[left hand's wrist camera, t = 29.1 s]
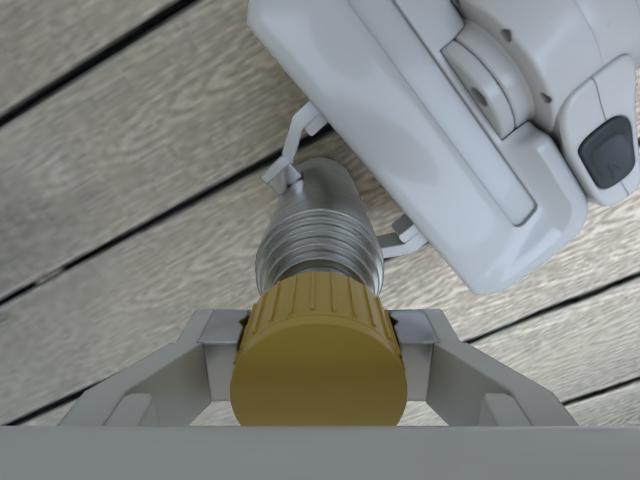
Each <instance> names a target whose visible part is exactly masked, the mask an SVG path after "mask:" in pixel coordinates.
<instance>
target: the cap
mask: <svg viewBox="0 0 640 480" xmlns="http://www.w3.org/2000/svg"><path fill="white" fill-rule="evenodd" d="M399 355H401V352H400V349H399V346H398V343H397V339H396V336H395V333H394V330H393V327H392V324H391V320H390V317H389V314H388V311H387V309H386V310H385V309H384V308H383V306H382V304H381V302H380V298H379V297H378V296H377V297H376V296H375V295H374V294H373V293H372V292H371V291H370V290H369V289H368V288H367V286H366V285H363V284H361V283H359V282H357V281H356V280H354V279H352V278H351V277H347V276H344V275H340V274H336V273H334V272H315V271H312V272H306V273H302V274H295V275H294V276H291V277H288V278H286V279H284V280H282V281H278V282H277V284H275V285H274V286H272V287H271V288H270V289H269V290H268V291H267V292H266V291H265V292H263V295H262V297H261V298H260V299H259V301H258V302H257V304H254V305H253V308H252V311H251V314H250V317H249V320H248V323H247V325H246V326H245V328H244V336H243V339H242V342H241V345H240V349H239V352H238V351H237V352H236V356H235V359H234V362H233V364H234V365H235V367H234V370H233V374H232V377H231V381H230V400H231V404H232V408H233V411H234V414H235V416H236V418H237V420H238V421H239V423H240V425H241V426H396V425H397V424H398V422H399V421H400V419H401V417H402V415H403V412H404V409H405V406H406V402H407V395H408V390H407V381H406V376H405V373H404V372H406V369H405V366H404V362H403V359H402V358H401V359H400V356H399Z"/></svg>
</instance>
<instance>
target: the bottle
mask: <svg viewBox="0 0 640 480" xmlns="http://www.w3.org/2000/svg"><path fill="white" fill-rule="evenodd" d="M299 166H300V167H301V169H302V170H303V173H302V177H300V178H299V179H298V180H297V181H296V182H294V183H293V184H291V185H288V187H287V189H286V190H285V191H284V193H283V194H281V197H280V199H279V201H278V204H277V206H276V208H275V211H274V213H273V215H272V218H271V220H270V222H269V225H268V227H267V229H266V232H265V234H264V236H263V239H262V241H261V243H260V246H259V248H258V252H257V255H256V262H255V272H256V282H257V287H258V290H259V293H260V296H261V297H262V295H263V292H265V291H266V292H267V291H268V290H269V289H270V288H271V287H272V286H274V285H275V284H277V282H278V281H282V280H284V279H286V278H288V277H291V276H294V275H295V274H302V273H306V272H312V271H315V272H334V273H336V274H340V275H344V276H347V277H351V278H352V279H354V280H356V281H357V282H359V283H361V284H363V285H366V286H367V288H368V289H369V290H370V291H371V292H372V293H373V294H374V295H375V296H376V297H377V296H378V297H379V294H380V292H381V289H382V285H383V278H384V258H383V253H382V250H381V247H380V244H379V242H378V240H377V237H376V235H375V232H374V230H373V227H372V225H371V222H370V220H369V217H368V215H367V213H366V210H365V208H364V205H363V203H362V200H361V198H360V195H359V193H358V190H357V188H356V186H355V183H354V181H353V178H352V176H351V174H350V173H349V171H348V170H347V169H346V168H345V167H344V166H343V165H342V164H340V163H339V162H337V161H335V160H333V159H330V158H324V157H317V158H311V159H308V160H306V161H304V162H302V163H301V164H299Z"/></svg>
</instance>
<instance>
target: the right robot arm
mask: <svg viewBox="0 0 640 480" xmlns="http://www.w3.org/2000/svg"><path fill="white" fill-rule="evenodd" d="M247 25H248V27H249V29H250V30H251V31H252V32H253V33H254V35H255V36H256V37H257V38H258V39H259V41H260V42H261V43H262V44H263V45H264V46H265V48H266V49H267V50H268V51H269V52H270V54H271V55H272V56H273V57H274V58H275V60H276V61H277V62H278V63H279V64H280V65H281V67H282V68H283V69H284V70H285V71H286V73H287V74H288V75H289V76H290V77H291V79H292V80H293V81H294V82H295V83H296V84H297V86H298V87H299V88H300V89H301V90H302V92H303V93H304V94H305V95H306V96H307V97H308V99H309V101H308V102H307V103H306V104H305V105H304V106H303V107H302V108H301V109H300V110H299V111H298V112H297V113H296V114H295V115H294V116H293V117H292V120H291V123H290V127H289V130H288V134H287V137H286V141H285V144H284V148H283V151H282V156H280V157H279V158H278V159H277V160H276V161H275V162H274V163H273V164H272V165H271V166H270V167H269V168H268V169H267V170H266V171H265V172H264V173H263V174H262V175H261V178H262V179H263V180H264V181H265V183H267V184H268V185H269V186H270V187H271V188H272V189H273V190H274V191H275V192H276V193H277V194H278V195H279V196H280V195H281V194H283V193H284V191H285V190H286V189H287V187H288V185H291V184H293V183H294V182H296V181H297V180H298V179H299V178H300V177H302V173H303V170H302V169H301V167H300V166H299V165H298V164H297V163H296V162H295V161H294V158H295V155H296V152H297V149H298V145H299V142H300V139H301V136H302V133H303V129H304V128H305V131H306V132H307V133H308V134H309V135H310V136H313V135H314V134H315V133H316V132H318V131H319V130H320V129H321V128H322V127H323V126H324V125H325V124H326V123H328V122H329V124H330V125H331V126H332V127H333V128H334V129H335V131H336V132H337V133H338V134H339V135H340V137H341V138H342V139H343V140H344V141H345V143H346V144H347V145H348V146H349V147H350V148H351V150H352V151H353V152H354V153H355V154H356V156H357V157H358V158H359V159H360V160H361V162H362V163H363V164H364V165H365V166H366V167H367V169H368V170H369V171H370V172H371V173H372V175H373V176H374V177H375V178H376V179H377V180H378V182H379V183H380V184H381V185H382V186H383V188H384V189H385V190H386V191H387V192H388V194H389V195H390V196H391V197H392V198H393V199H394V201H395V202H396V203H397V204H398V205H399V207H400V208H401V209H402V210H403V211H404V213H405V214H404V215H403V216H402V217H400V218H399V219H398V220H397V221H395V222H394V223H393V224H392V227H393V228H394V230H395V233H390V234H386V235H381V236H377V240H378V242H379V244H380V247H381V250H382V253H383V258H388V257H395V256H401V255H408V254H412V253H414V252H415V251H416V250H418V249H419V248H420V247H422V246H423V245H424V244H426V243H427V242H428V241H429V242H430V243H431V245H432V246H433V247H434V248H435V249H436V250H437V252H438V253H439V254H440V255H441V256H442V258H443V259H444V260H445V261H446V262H447V263H448V265H449V266H450V267H451V268H452V269H453V271H454V272H455V273H456V274H457V275H458V277H459V278H460V279H461V280H462V281H463V282H464V284H465V285H466V286H467V287H468V288H469V290H470V291H471V292H472V293H474V294H494V293H499V292H501V291H503V290H505V289H507V288H508V287H510V286H512V285H513V284H515V283H516V282H518V281H519V280H521V279H522V278H524V277H525V276H527V275H528V274H529V273H531V272H532V271H534V270H535V269H536V268H538V267H539V266H540V265H542V264H543V263H544V262H546V261H547V260H548V259H550V258H551V257H552V256H553V255H555V254H556V253H557V252H558V251H560V250H561V249H562V248H563V247H564V246H566V245H567V244H568V243H569V242H570V241H571V240H572V239H573V238H574V237H575V236H576V235H577V234H578V232H579V231H580V230H581V228H582V226H583V225H584V223H585V220H586V217H587V213H588V203H587V202H590V203H594V204H598V205H602V206H612V205H614V204H617V203H618V202H620V201H622V200H623V199H625V198H627V197H628V196H629V195H631V194H632V193H633V192H634V191H635V190H636V189H637V188H638V186H639V184H640V156H639V148H638V140H637V129H636V113H635V91H636V69H638V68H639V67H640V0H248V6H247Z"/></svg>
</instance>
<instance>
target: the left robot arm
mask: <svg viewBox="0 0 640 480" xmlns="http://www.w3.org/2000/svg"><path fill="white" fill-rule="evenodd" d="M387 311H388V314H389V317H390V320H391V324H392V327H393V330H394V333H395V336H396V339H397V343H398V346H399V349H400V352H401V355H399V356H400V359H401V358H402V359H403V362H404V366H405V369H406V372H404V373H405V376H406V381H407V390H408V395H407V401H427V402H426V403H427V404H428V405H429V406H430V407H431V408H432V409H433V410H434V411H435V412H436V413H437V414H438V415H439V416H440V417H441V418H442V419H443V420H444V421H445V422H446V423H447V424H448V425H449V426H188V425H189V424H190V423H191V422H192V421H193V420H194V419H195V418H196V417H197V416H198V415H199V414H200V413H201V412H202V411H203V410H204V409H205V408H206V407H207V406H208V405H209V404H210V403H211V401H231V400H230V381H231V377H232V374H233V370H234V367H235V365H234V364H233V362H234V359H235V356H236V352H237V351H238V352H239V349H240V345H241V342H242V339H243V336H244V328H245V326H246V325H247V323H248V320H249V317H250V314H251V311H250V310H234V309H198V310H196V311H195V312H194V313H193V315H192V317H191V318H190V320H189V322H188V323H187V325H186V327H185V329H184V330H183V332H182V334H181V335H180V337H179V339H178V340H177V342H176V343H170V344H168V345H166V346H164V347H162V348H161V349H159V350H157V351H155V352H154V353H152V354H150V355H148V356H147V357H145V358H143V359H141V360H140V361H138V362H136V363H134V364H132V365H131V366H129V367H127V368H125V369H124V370H122V371H120V372H118V373H117V374H115V375H113V376H111V377H110V378H108V379H106V380H104V381H102V382H101V383H99V384H97V385H95V386H94V387H92V388H90V389H88V390H87V391H85V392H84V393H83V394H82V395H81V397H80V398H79V399H78V400H77V401H76V403H75V404H74V405H73V406H72V408H71V409H70V410H69V411H68V413H67V414H66V415H65V416H64V418H63V419H62V420H61V421H60V422H59V424H58V425H57V426H0V480H640V426H579V425H578V424H577V422H576V421H575V420H574V419H573V417H572V416H571V415H570V414H569V412H568V411H567V410H566V409H565V407H564V406H563V405H562V403H561V402H560V401H559V400H558V398H557V397H556V396H555V395H554V393H553V392H551V391H550V390H548V389H546V388H544V387H543V386H541V385H539V384H537V383H536V382H534V381H532V380H530V379H529V378H527V377H525V376H523V375H522V374H520V373H518V372H516V371H515V370H513V369H511V368H509V367H508V366H506V365H504V364H502V363H501V362H499V361H497V360H495V359H494V358H492V357H490V356H488V355H487V354H485V353H483V352H481V351H480V350H478V349H476V348H475V347H473V346H471V345H469V344H468V343H461V342H460V340H459V338H458V337H457V335H456V333H455V332H454V330H453V328H452V327H451V325H450V323H449V322H448V320H447V318H446V316H445V315H444V313H443V311H442V310H440V309H420V310H387Z"/></svg>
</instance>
